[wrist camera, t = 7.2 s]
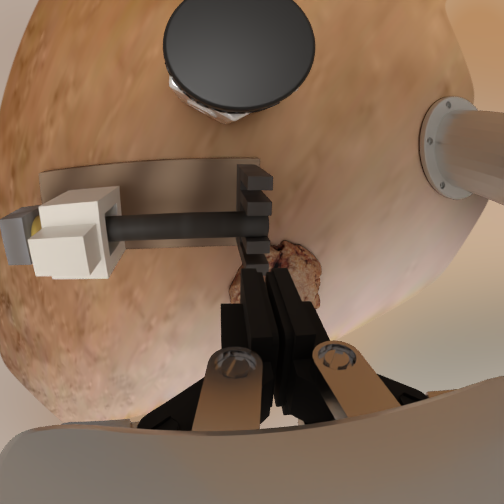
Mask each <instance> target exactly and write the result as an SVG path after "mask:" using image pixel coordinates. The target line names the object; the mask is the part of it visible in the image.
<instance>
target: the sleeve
mask: <svg viewBox="0 0 504 504" xmlns="http://www.w3.org/2000/svg"><path fill="white" fill-rule="evenodd" d="M39 214H40V220H41V227H42V229H41V230H40V231H38V232H37V233H36V234H34V235H33V236H32V237H30V238H29V239H28V244H29V249H30V254H31V258H32V262H33V266H34V271H35V274H36V276H52V279H108V278H109V277H110V275H111V273H112V271H113V270H114V268H115V266H116V265H117V263H118V261H119V260H120V258H121V256H122V255H123V253H124V251H125V250H126V249H125V241H113V242H108V238H107V231H106V222H105V216H121V215H122V213H121V202H120V188H119V186H111V187H99V188H88V189H78V190H69V191H67V192H65V193H63V194H61V195H59V196H57V197H55V198H53V199H51V200H50V201H48V202H46V203H44V204H42V205H41V206H39Z"/></svg>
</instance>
